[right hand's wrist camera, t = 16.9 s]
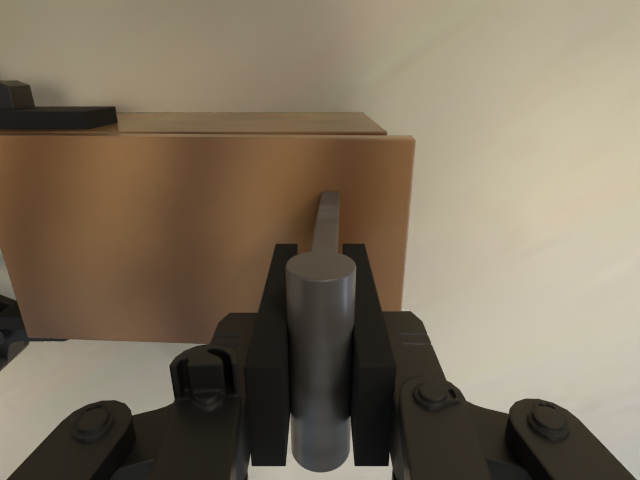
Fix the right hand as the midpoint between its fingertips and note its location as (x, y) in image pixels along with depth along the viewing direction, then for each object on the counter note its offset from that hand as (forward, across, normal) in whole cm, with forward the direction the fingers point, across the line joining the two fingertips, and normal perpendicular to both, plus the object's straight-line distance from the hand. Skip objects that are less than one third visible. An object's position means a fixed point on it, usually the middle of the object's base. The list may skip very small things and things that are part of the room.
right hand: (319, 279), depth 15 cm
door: (+3, -5, 0) cm, 6 cm away
